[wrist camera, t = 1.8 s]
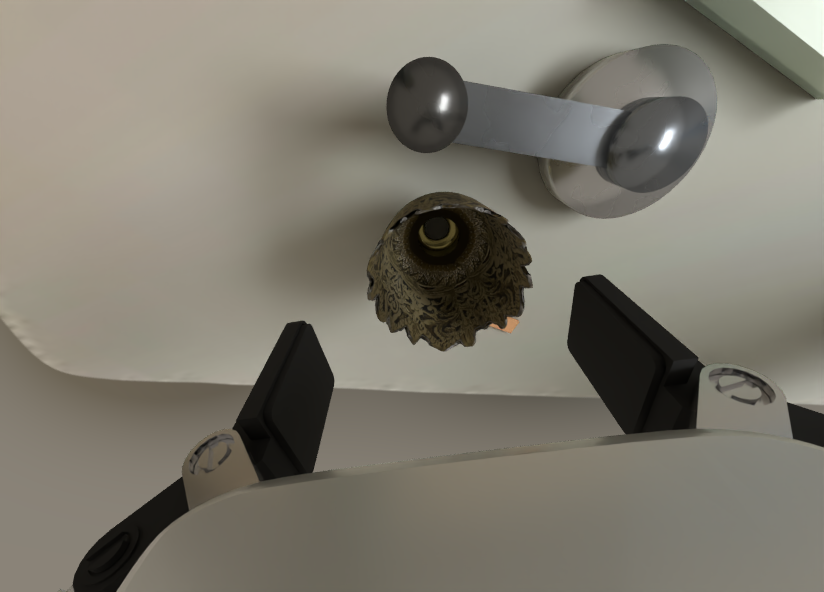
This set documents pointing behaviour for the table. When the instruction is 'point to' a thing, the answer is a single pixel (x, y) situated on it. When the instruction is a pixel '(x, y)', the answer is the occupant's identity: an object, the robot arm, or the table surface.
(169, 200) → the table surface
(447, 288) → the ornate brass lampshade
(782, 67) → the tray
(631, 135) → the crank
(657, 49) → the crank base
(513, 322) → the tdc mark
